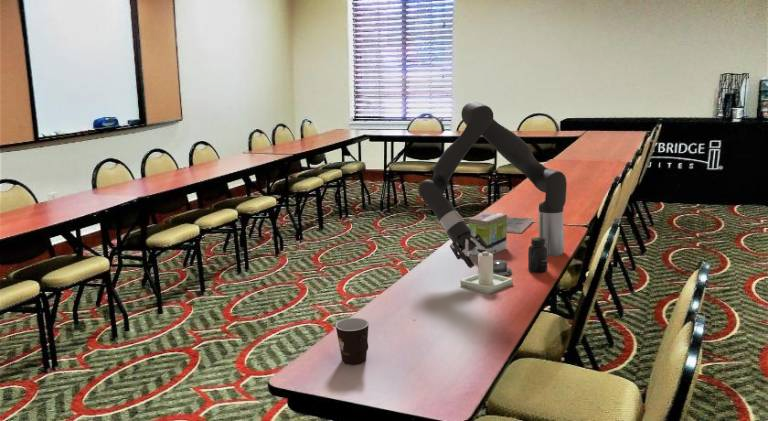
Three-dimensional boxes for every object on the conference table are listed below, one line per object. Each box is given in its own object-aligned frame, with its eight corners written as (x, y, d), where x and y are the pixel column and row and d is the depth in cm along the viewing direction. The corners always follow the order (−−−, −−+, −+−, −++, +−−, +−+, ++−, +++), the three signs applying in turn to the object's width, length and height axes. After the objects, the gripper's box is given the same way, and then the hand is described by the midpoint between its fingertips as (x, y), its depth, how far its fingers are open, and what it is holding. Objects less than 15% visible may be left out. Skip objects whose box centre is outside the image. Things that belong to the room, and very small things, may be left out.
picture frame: (498, 220, 314) (485, 231, 295) (498, 215, 314) (485, 226, 295) (532, 223, 307) (521, 234, 288) (532, 217, 306) (521, 228, 288)
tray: (484, 276, 232) (484, 271, 232) (512, 284, 223) (512, 278, 222) (460, 285, 224) (460, 280, 224) (489, 293, 215) (488, 288, 214)
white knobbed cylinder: (484, 279, 227) (484, 249, 224) (496, 282, 223) (495, 252, 221) (475, 283, 223) (475, 252, 221) (486, 286, 220) (486, 255, 217)
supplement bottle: (547, 274, 232) (548, 241, 229) (528, 273, 233) (528, 241, 231) (547, 268, 238) (547, 236, 236) (528, 267, 240) (528, 236, 237)
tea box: (489, 257, 254) (489, 221, 251) (467, 254, 260) (466, 218, 257) (507, 248, 266) (507, 213, 263) (485, 245, 272) (485, 210, 269)
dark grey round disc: (497, 267, 242) (496, 257, 241) (516, 272, 235) (516, 261, 234) (481, 273, 236) (481, 262, 235) (501, 278, 229) (500, 267, 228)
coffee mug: (337, 354, 175) (335, 319, 173) (369, 351, 176) (367, 316, 174) (338, 373, 164) (335, 336, 162) (372, 371, 164) (370, 334, 162)
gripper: (446, 224, 222) (473, 262, 216) (473, 216, 232) (499, 253, 226) (435, 236, 227) (461, 274, 221) (462, 228, 237) (487, 265, 231)
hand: (480, 263), depth 224 cm, fingers open, 8 cm apart
